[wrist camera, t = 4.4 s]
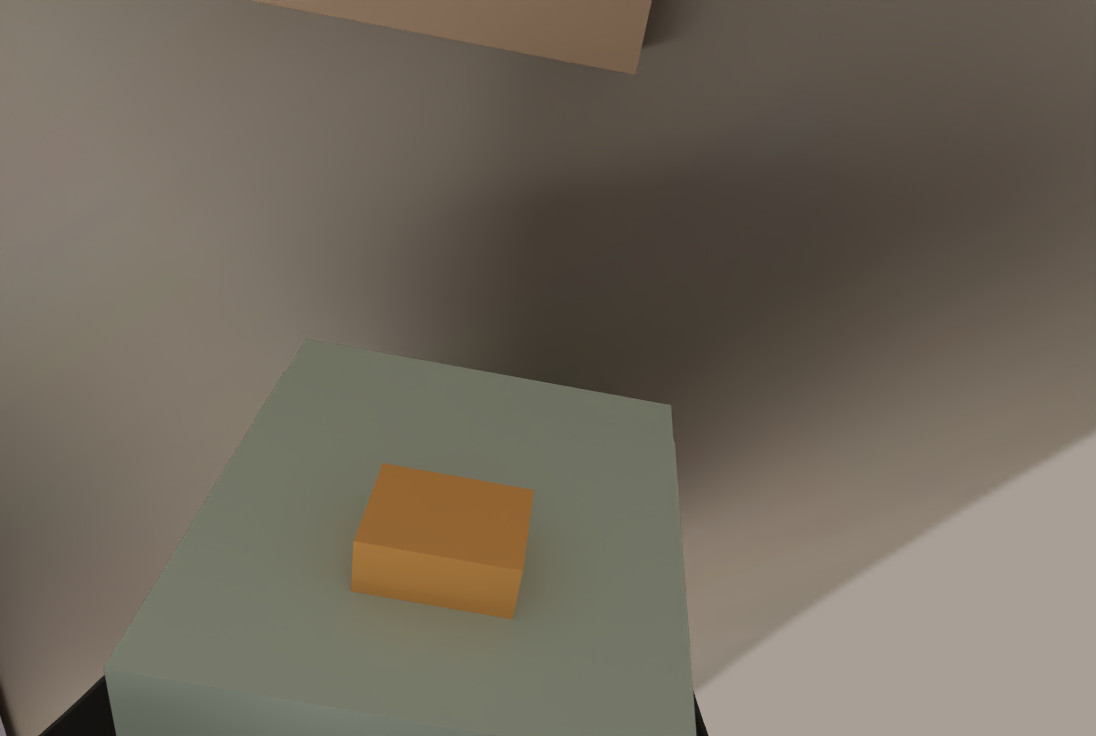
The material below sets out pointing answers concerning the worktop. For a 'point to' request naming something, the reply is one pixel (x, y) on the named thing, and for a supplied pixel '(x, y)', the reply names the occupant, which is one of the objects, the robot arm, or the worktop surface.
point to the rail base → (511, 25)
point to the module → (423, 566)
